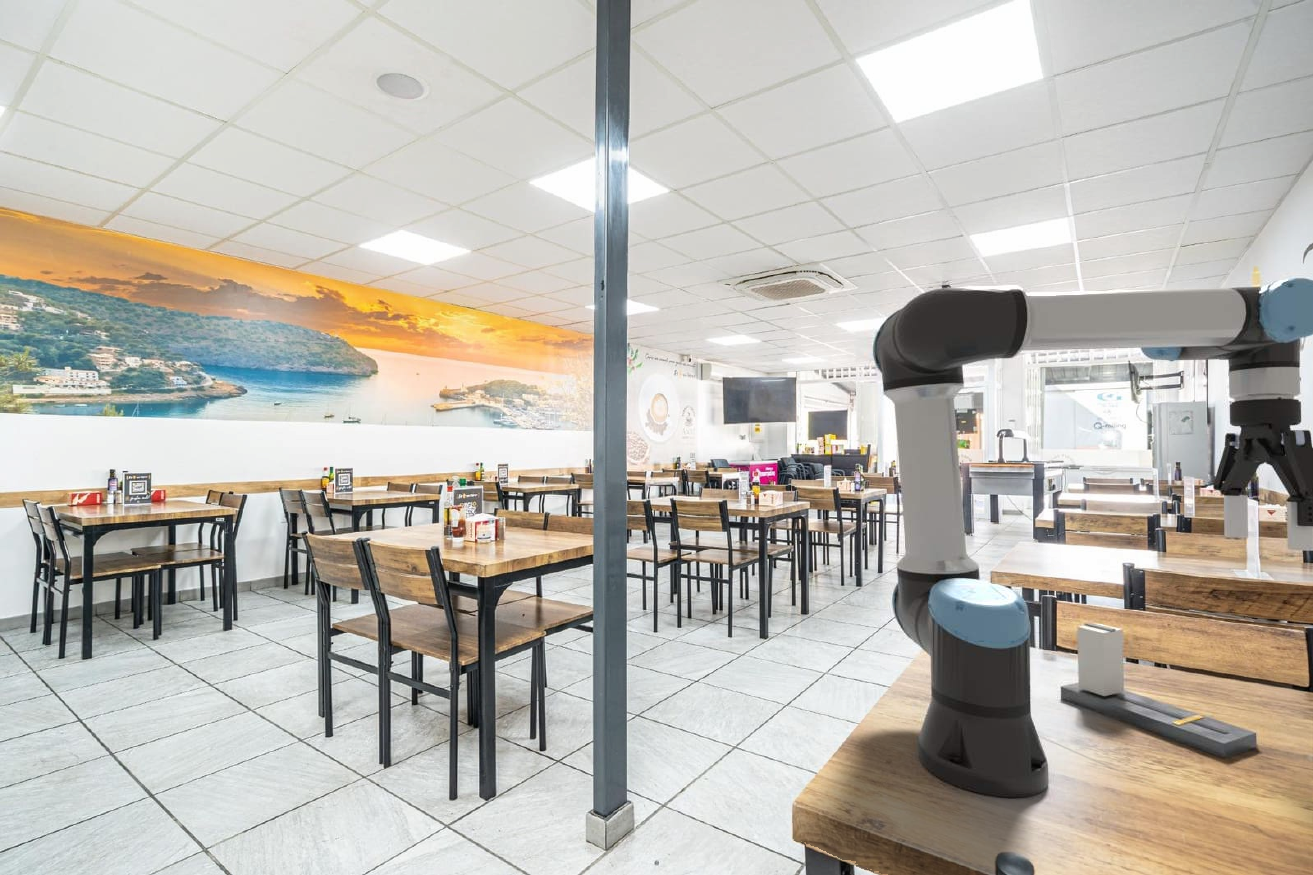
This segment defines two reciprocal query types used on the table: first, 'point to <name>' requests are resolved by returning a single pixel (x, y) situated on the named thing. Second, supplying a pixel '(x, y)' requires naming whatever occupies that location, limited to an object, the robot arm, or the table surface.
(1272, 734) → the table surface
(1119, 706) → the grey slotted track base
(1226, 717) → the table surface
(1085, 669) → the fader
